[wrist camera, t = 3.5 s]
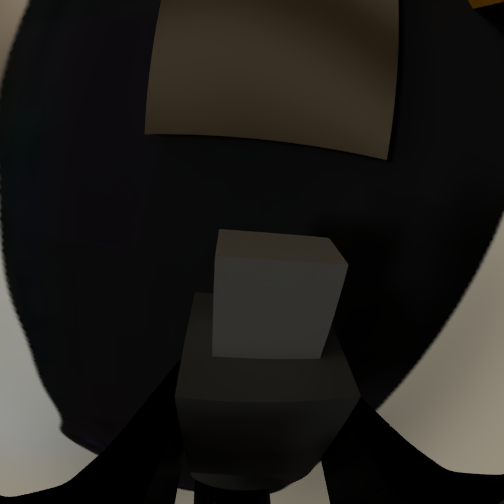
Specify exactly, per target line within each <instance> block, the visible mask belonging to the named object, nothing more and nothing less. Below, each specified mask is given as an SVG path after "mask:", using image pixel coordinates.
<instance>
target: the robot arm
mask: <svg viewBox="0 0 504 504" xmlns="http://www.w3.org/2000/svg"><path fill="white" fill-rule="evenodd" d="M180 364H181V359H180V360H179V361H178V362H177V364H176V365H175V366H174V367H173V369H172V370H171V371H170V372H169V374H168V375H167V376H166V377H165V378H164V380H163V381H162V382H161V383H160V385H159V386H158V387H157V388H156V390H155V391H154V392H153V393H152V394H151V396H150V397H149V398H148V399H147V401H146V402H145V403H144V404H143V405H142V407H141V408H140V409H139V410H138V412H137V413H136V414H135V415H134V416H133V418H132V419H131V420H130V421H129V423H128V424H127V425H126V426H125V428H126V429H125V428H123V430H122V431H121V432H120V433H119V435H118V436H117V437H116V438H115V439H114V440H113V441H112V442H111V444H110V445H109V446H108V447H107V448H106V449H105V450H104V451H103V452H102V453H101V454H100V455H98V456H97V457H96V458H95V459H94V460H93V461H92V462H91V463H90V464H88V465H87V466H86V467H85V468H84V469H83V470H82V471H80V472H79V473H78V474H77V475H76V476H75V477H73V478H72V479H71V480H70V481H68V482H66V483H64V484H62V485H60V486H57V487H54V488H50V489H46V490H42V491H39V492H34V493H30V494H25V495H21V496H15V497H4V496H0V504H175V499H176V493H177V488H178V483H179V477H180V472H181V467H182V462H183V457H184V452H185V450H184V445H183V440H182V435H181V430H180V425H179V420H178V414H177V408H176V402H175V392H176V386H177V380H178V375H179V369H180ZM321 462H322V467H323V471H324V476H325V481H326V485H327V490H328V495H329V500H330V504H504V474H502V475H485V474H471V473H459V472H453V471H450V470H447V469H445V468H443V467H441V466H439V465H438V464H437V463H436V462H434V461H433V460H431V459H430V458H428V457H427V456H426V455H425V454H423V453H422V452H420V451H419V450H418V449H416V448H415V447H414V446H413V445H411V444H410V443H409V442H408V441H407V440H405V439H404V438H403V437H402V436H401V435H400V434H399V433H398V432H397V431H395V429H393V428H392V427H390V425H389V424H388V423H387V422H386V421H385V420H384V419H383V418H382V417H381V416H380V415H379V414H378V413H377V412H376V411H375V410H374V409H373V408H372V407H371V406H370V405H369V404H368V403H367V402H366V401H365V400H364V399H363V398H362V397H360V399H359V400H358V402H357V404H356V406H355V407H354V409H353V411H352V412H351V414H350V415H349V417H348V419H347V420H346V422H345V423H344V425H343V426H342V428H341V430H340V431H339V433H338V434H337V436H336V437H335V439H334V440H333V441H332V443H331V444H330V446H329V447H328V449H327V450H326V452H325V453H324V454H323V456H322V457H321ZM193 479H195V478H193ZM194 504H270V493H269V489H263V490H229V489H222V488H217V487H213V486H209V485H206V484H204V483H201V482H199V481H198V480H196V479H195V489H194Z"/></svg>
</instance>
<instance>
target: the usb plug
mask: <svg viewBox="0 0 504 504" xmlns="http://www.w3.org/2000/svg"><path fill="white" fill-rule="evenodd" d="M347 268H348V263H347V262H346V261H345V259H344V258H343V256H342V255H341V254H340V252H339V251H338V250H337V248H336V247H335V245H334V244H333V243H332V241H331V240H330V239H329V238H324V237H313V236H301V235H289V234H276V233H264V232H250V231H237V230H222V229H219V235H218V242H217V248H216V254H215V273H214V294H211V293H198V292H195V295H194V300H193V304H192V309H191V314H190V318H189V323H188V328H187V333H186V338H185V343H184V348H183V353H182V359H181V364H180V369H179V375H178V380H177V386H176V392H175V402H176V408H177V414H178V420H179V425H180V430H181V435H182V440H183V445H184V450H185V454H186V459H187V463H188V468H189V472H190V474H191V476H192V477H193V478H195V479H196V480H198V481H199V482H201V483H204V484H206V485H209V486H213V487H217V488H222V489H229V490H263V489H270V488H276V487H280V486H284V485H287V484H290V483H293V482H296V481H298V480H300V479H302V478H303V477H305V476H306V475H308V474H309V473H310V472H311V470H312V469H313V468H314V466H315V465H316V464H317V462H318V461H319V460H320V458H321V457H322V456H323V454H324V453H325V452H326V450H327V449H328V447H329V446H330V444H331V443H332V441H333V440H334V439H335V437H336V436H337V434H338V433H339V431H340V430H341V428H342V426H343V425H344V423H345V422H346V420H347V419H348V417H349V415H350V414H351V412H352V411H353V409H354V407H355V406H356V404H357V402H358V400H359V399H360V397H361V395H360V393H359V390H358V387H357V385H356V382H355V380H354V377H353V375H352V372H351V370H350V367H349V365H348V362H347V360H346V357H345V355H344V352H343V350H342V347H341V345H340V342H339V340H338V338H337V335H336V333H335V330H334V328H333V326H332V320H333V317H334V314H335V311H336V307H337V304H338V301H339V297H340V294H341V290H342V287H343V283H344V279H345V276H346V272H347Z"/></svg>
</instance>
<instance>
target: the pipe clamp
mask: <svg viewBox="0 0 504 504" xmlns="http://www.w3.org/2000/svg"><path fill="white" fill-rule="evenodd" d="M468 1H469V2H470V4H471V6H472V7H473V9H474V8H479V7H484V6H489V5H494V4H499V3H503V2H504V0H468Z"/></svg>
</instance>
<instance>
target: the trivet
mask: <svg viewBox="0 0 504 504" xmlns="http://www.w3.org/2000/svg"><path fill="white" fill-rule="evenodd" d="M398 42H399V8H398V0H162V1H161V5H160V10H159V16H158V21H157V27H156V32H155V39H154V45H153V52H152V59H151V67H150V75H149V85H148V95H147V107H146V121H145V134H191V135H214V136H230V137H243V138H254V139H264V140H273V141H282V142H289V143H297V144H304V145H311V146H317V147H323V148H329V149H335V150H341V151H346V152H351V153H356V154H361V155H366V156H371V157H376V158H380V159H384V160H387V155H388V149H389V143H390V136H391V128H392V121H393V112H394V103H395V93H396V81H397V66H398Z"/></svg>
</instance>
